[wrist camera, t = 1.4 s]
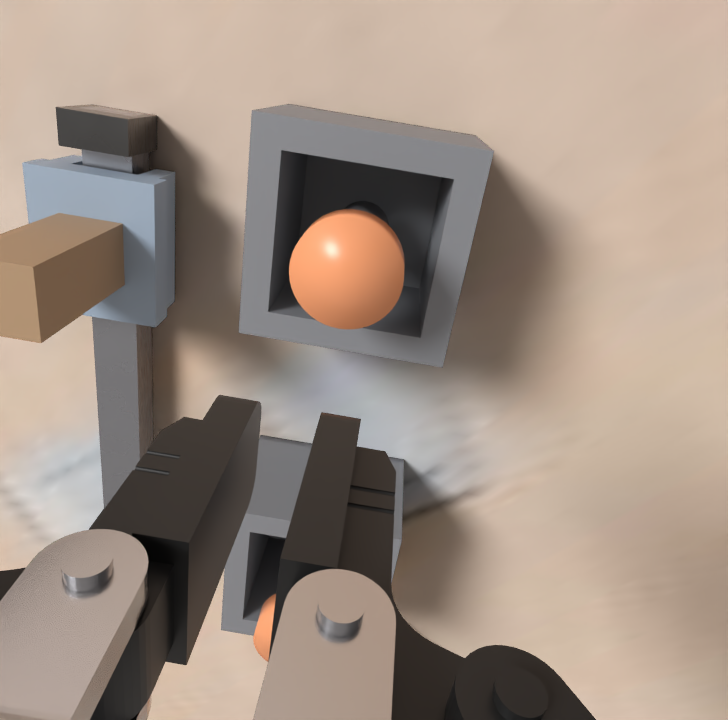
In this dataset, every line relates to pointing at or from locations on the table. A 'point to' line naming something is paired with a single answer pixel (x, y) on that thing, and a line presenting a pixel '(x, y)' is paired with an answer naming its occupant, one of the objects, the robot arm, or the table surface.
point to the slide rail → (114, 338)
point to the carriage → (88, 249)
